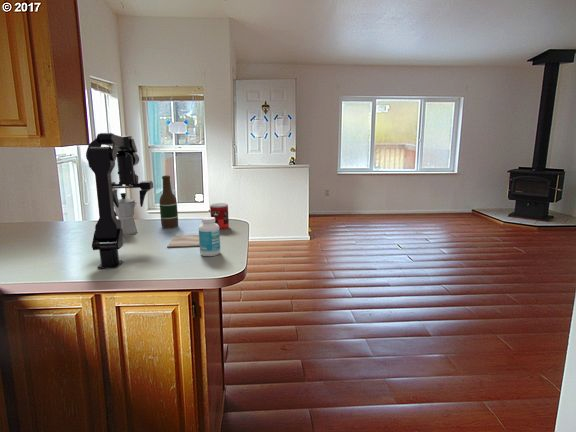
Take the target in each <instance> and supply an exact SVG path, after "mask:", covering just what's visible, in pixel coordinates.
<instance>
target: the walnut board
mask: <svg viewBox="0 0 576 432" xmlns="http://www.w3.org/2000/svg"><path fill="white" fill-rule="evenodd" d="M199 246H200V243H199V234H185V235H183V234H182V235H173V237H172V238H171V240H170V241H169V243H168V244H167V246H166V248H167V249H169V248H170V249H174V248H175V249H177V248H194V247H195V248H196V247H198V248H200V247H199Z"/></svg>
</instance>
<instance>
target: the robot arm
mask: <svg viewBox="0 0 576 432" xmlns="http://www.w3.org/2000/svg"><path fill="white" fill-rule="evenodd" d="M96 135H97V136H96V138H95V139H94V140H92V141H91V142H90V143H89V144H88V147H87V149H86V151H85V158H86V161H87V162H88V167H89V168H90V170H91V171H92V172H93V174H94V175H95V185H96V194H97V204H98V214H99V219H98V220H97V222H96V223H95V226H94V229H95V230H94V232H93V237H92V238H93V239H92V243H91V248H92V250H93V251H97V250H98V251H99V258H100V264H99V265H98V266H97V269H113V268H114V269H115V268H116V269H117V268H119V266H120V265H121V264H122V263H123V261H124V260H123V259H120V257H119V250H120V249H121V248H122V247H124V235H123V230H122V228H121V221H120V220H118V217H117V216H116V217H115V214H114V211H115V207H114V203H115V205H116V207H117V208H118V207H119V202H118V200H119V197H118V189H138V188H139V205H140V207H141V208H142V207H144V206H143V205H144V201H145V198H146V195H147V192H149V191H151V190H152V189H153V188H154V183H153V181H152V180H141V181H140V182H139V176H138V174H137V173H136V171H135V170H134V166H137V165H138V164H139V163H140V156H139V154H137V153H138V149H137V145H136V143H135V139H134V138H133V136H131V135H117V134H114V133H112V132H100V133H98V134H96ZM116 162H117V175H118V183H116V181H112V171H113V170H114V168H115V167H116ZM113 201H114V203H113Z"/></svg>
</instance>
